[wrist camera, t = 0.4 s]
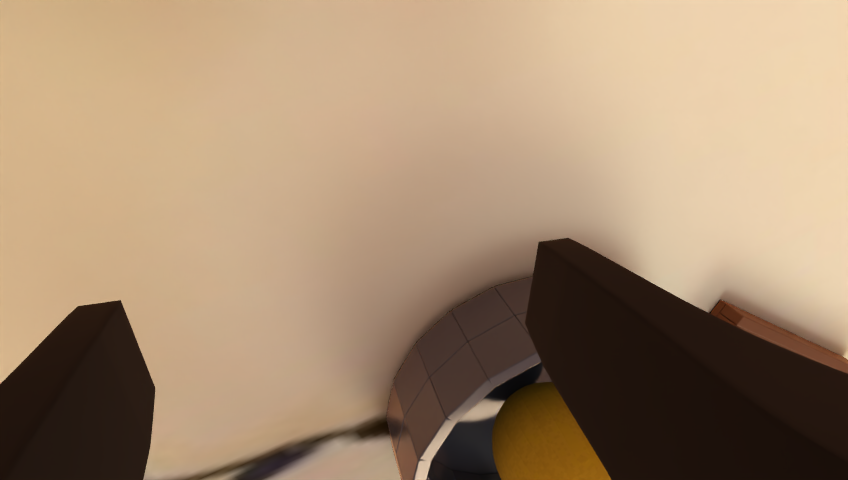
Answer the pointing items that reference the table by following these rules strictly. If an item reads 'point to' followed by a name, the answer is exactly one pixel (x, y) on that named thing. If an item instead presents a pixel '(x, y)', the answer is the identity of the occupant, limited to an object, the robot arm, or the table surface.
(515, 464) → the lemon
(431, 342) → the bowl
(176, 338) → the table surface
